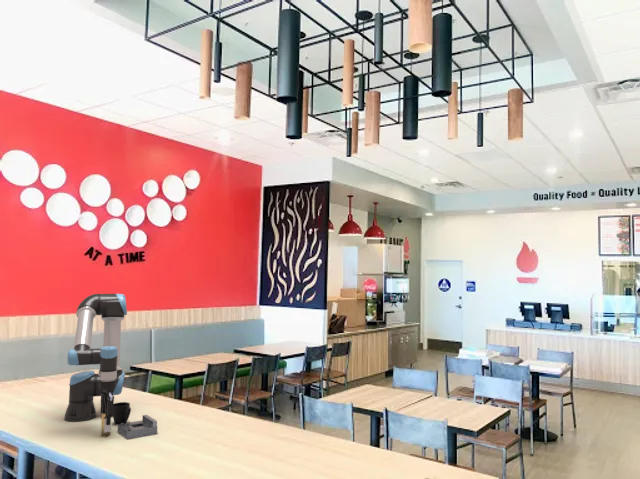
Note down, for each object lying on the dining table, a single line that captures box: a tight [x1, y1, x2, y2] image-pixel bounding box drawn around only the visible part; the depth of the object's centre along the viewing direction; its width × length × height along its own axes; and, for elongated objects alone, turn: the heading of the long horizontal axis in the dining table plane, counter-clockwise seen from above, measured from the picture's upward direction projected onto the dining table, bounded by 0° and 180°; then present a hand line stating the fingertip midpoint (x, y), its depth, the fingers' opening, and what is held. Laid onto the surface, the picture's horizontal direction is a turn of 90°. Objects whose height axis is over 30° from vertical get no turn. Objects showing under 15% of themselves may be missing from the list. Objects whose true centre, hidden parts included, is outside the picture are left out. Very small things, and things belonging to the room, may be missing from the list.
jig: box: [117, 414, 158, 440], centre depth 246 cm, size 14×14×6 cm
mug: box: [112, 401, 132, 426], centre depth 260 cm, size 8×12×10 cm
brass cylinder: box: [100, 413, 111, 438], centre depth 242 cm, size 4×4×10 cm
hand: (105, 430), depth 242 cm, fingers closed on brass cylinder, 4 cm apart
